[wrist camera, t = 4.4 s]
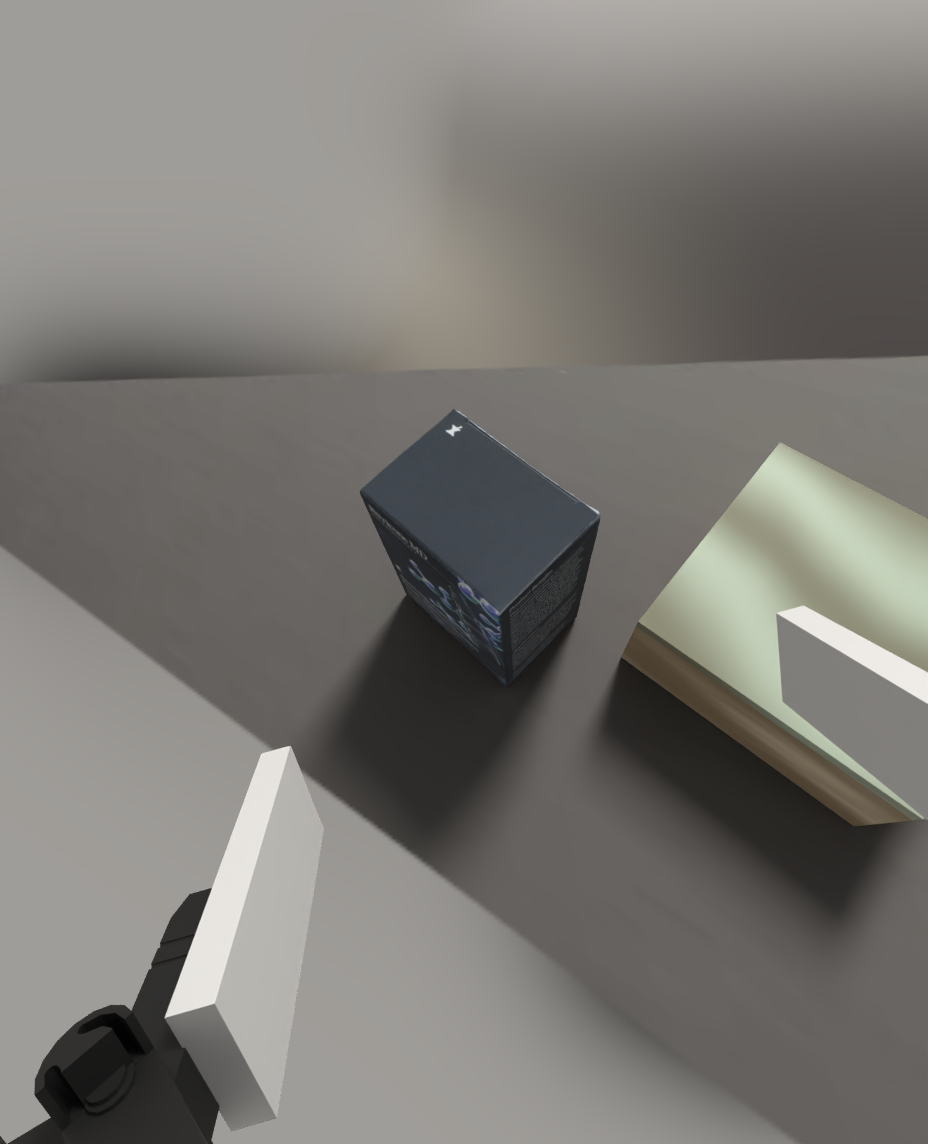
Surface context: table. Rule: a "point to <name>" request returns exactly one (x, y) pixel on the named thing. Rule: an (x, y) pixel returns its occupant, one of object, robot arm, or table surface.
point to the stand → (781, 582)
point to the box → (483, 542)
